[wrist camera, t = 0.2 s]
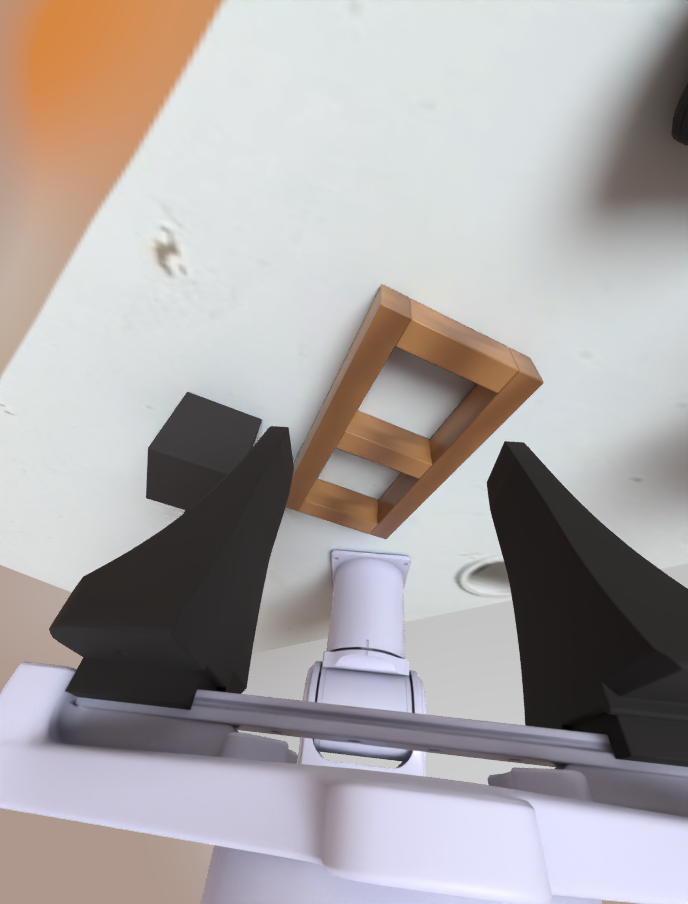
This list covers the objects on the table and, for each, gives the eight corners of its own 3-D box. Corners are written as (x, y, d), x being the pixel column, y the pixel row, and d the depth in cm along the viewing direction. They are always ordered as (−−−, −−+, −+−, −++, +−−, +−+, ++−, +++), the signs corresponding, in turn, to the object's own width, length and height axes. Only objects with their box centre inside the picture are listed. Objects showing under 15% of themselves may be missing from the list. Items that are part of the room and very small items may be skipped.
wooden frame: (531, 357, 20) (545, 382, 18) (386, 515, 31) (386, 539, 30) (381, 283, 18) (380, 303, 16) (285, 480, 29) (278, 505, 28)
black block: (262, 419, 25) (238, 478, 21) (246, 464, 28) (223, 522, 25) (187, 391, 24) (147, 447, 20) (180, 441, 27) (145, 498, 23)
